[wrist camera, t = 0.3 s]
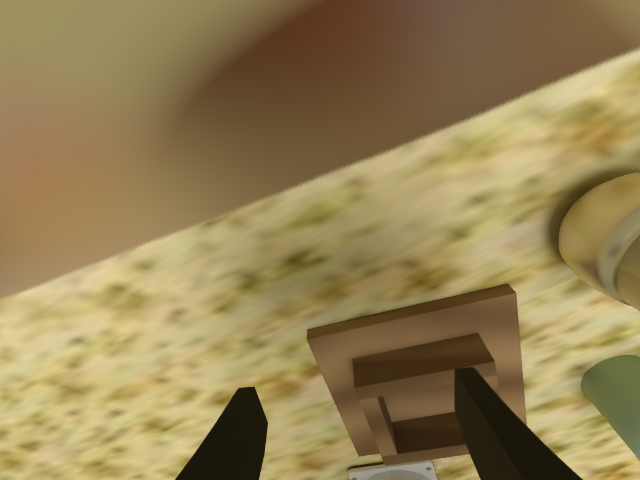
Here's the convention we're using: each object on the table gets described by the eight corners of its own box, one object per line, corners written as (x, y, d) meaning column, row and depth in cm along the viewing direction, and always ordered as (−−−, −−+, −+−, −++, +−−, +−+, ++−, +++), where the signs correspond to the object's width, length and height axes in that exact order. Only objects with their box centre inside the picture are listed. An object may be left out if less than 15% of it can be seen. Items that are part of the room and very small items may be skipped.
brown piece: (520, 419, 26) (546, 464, 23) (358, 445, 28) (360, 488, 25) (508, 284, 21) (539, 319, 17) (307, 329, 23) (303, 367, 20)
